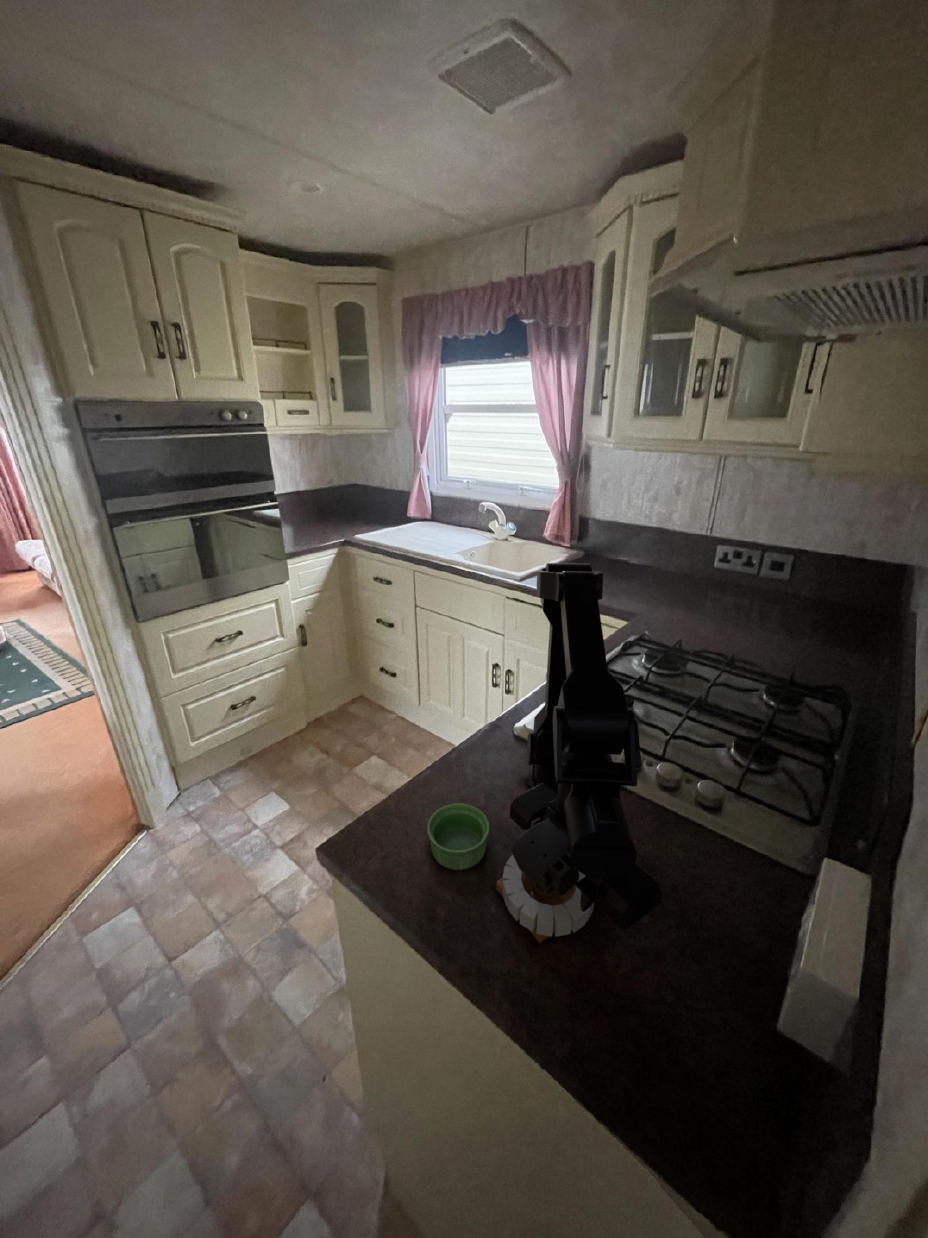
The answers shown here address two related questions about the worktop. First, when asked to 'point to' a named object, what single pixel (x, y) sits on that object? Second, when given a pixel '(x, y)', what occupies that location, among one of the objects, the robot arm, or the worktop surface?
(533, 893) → the wooden peg stand
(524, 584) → the worktop surface
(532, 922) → the segmented block ring
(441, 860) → the ramekin
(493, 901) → the worktop surface
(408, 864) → the worktop surface
